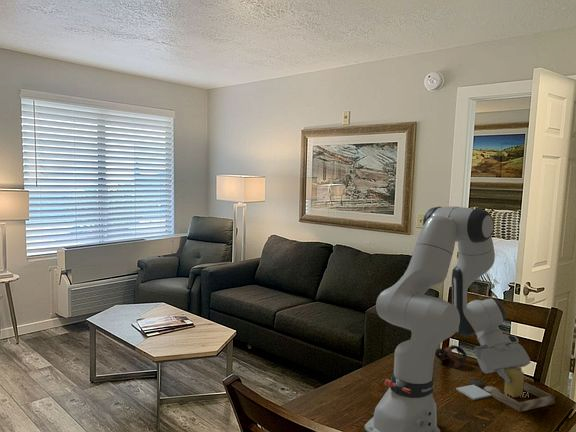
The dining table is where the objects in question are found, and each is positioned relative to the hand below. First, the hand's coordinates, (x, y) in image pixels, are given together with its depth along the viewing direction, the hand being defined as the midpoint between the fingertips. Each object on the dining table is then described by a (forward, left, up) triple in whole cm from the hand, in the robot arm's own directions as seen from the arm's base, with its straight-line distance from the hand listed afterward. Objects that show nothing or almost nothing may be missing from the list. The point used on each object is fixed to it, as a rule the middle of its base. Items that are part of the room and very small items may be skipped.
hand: (515, 381), depth 151 cm
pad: (-9, +10, -5) cm, 15 cm away
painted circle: (-2, +7, -5) cm, 9 cm away
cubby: (-1, -3, -5) cm, 6 cm away
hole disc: (-1, +12, -5) cm, 14 cm away
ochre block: (0, +1, -5) cm, 5 cm away
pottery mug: (+9, +28, -5) cm, 30 cm away
